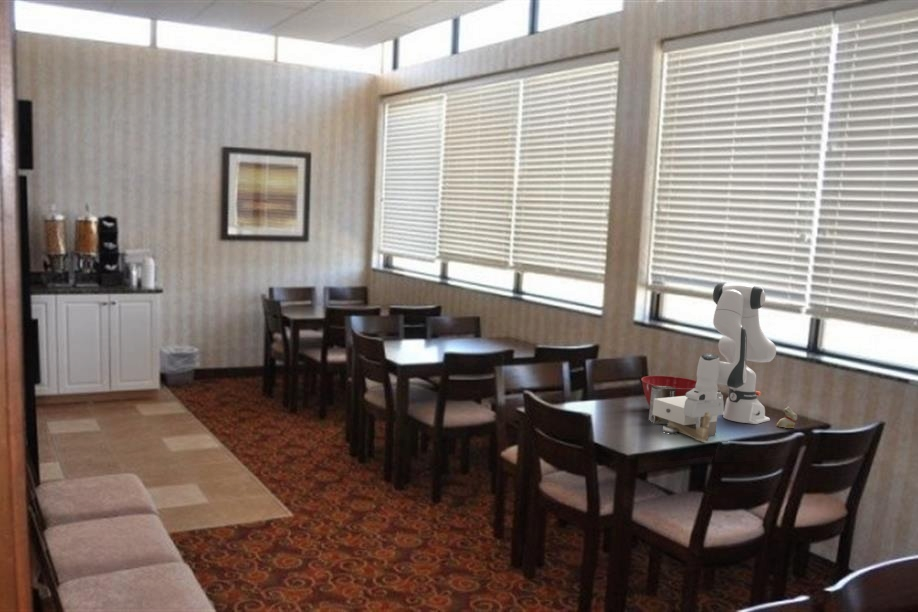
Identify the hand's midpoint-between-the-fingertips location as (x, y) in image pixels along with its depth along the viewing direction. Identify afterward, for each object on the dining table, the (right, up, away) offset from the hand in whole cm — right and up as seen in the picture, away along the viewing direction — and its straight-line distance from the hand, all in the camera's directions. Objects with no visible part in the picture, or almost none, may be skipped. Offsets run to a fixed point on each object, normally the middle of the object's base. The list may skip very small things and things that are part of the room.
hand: (702, 426), depth 336 cm
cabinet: (-4, -4, +15) cm, 16 cm away
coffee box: (-10, -3, +29) cm, 31 cm away
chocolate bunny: (+48, -6, +35) cm, 60 cm away
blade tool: (-4, -4, +8) cm, 10 cm away
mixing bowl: (-2, -1, +47) cm, 47 cm away
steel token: (-10, -4, +12) cm, 17 cm away
